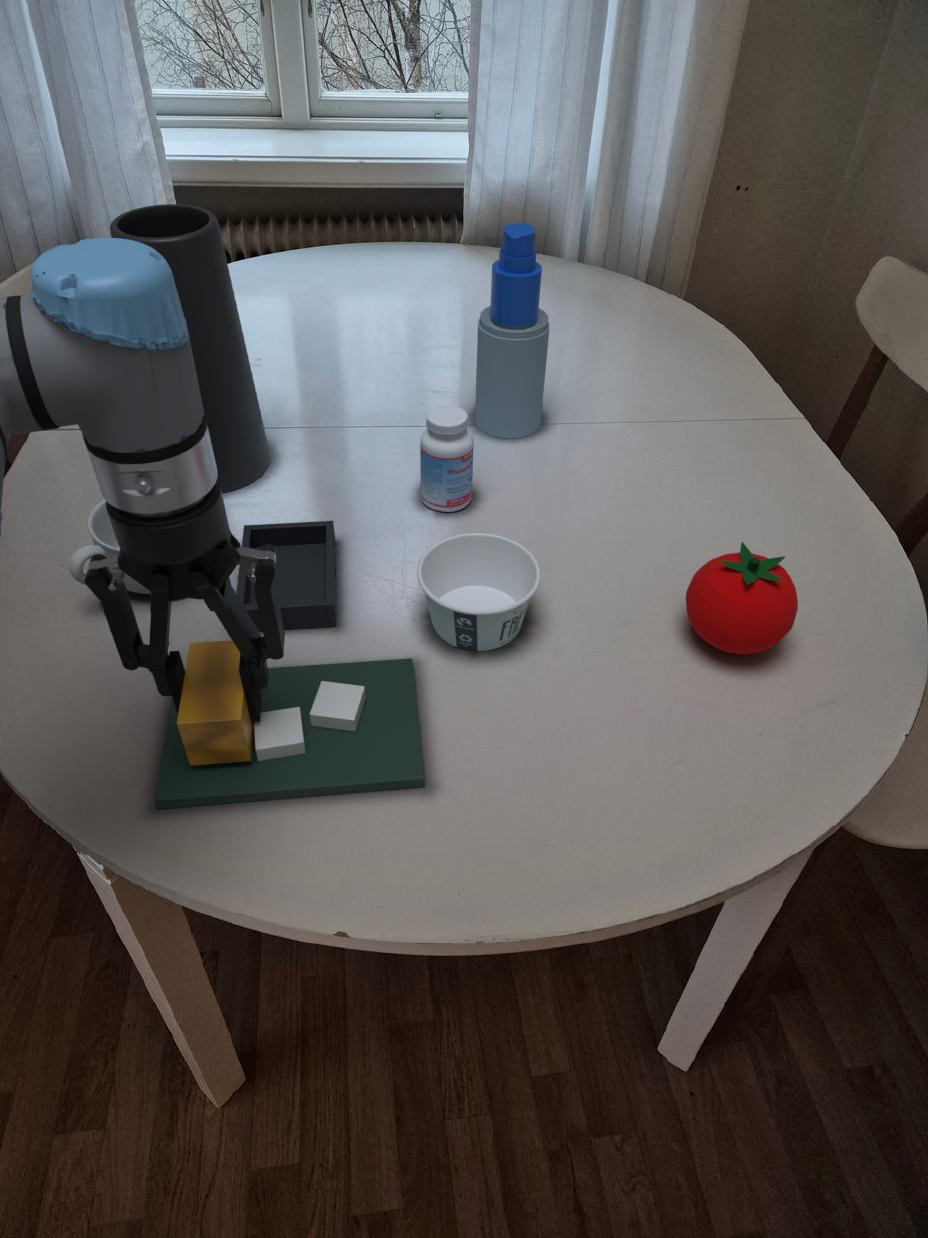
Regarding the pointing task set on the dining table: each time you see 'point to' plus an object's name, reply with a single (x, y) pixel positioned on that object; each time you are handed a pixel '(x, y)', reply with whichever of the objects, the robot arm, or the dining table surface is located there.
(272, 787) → the chalkboard
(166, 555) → the robot arm
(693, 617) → the tomato
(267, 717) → the grey square block
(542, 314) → the spray bottle
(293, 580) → the tray
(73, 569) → the teacup
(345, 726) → the white square block
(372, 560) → the dining table surface
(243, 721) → the yellow rectangular block
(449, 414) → the pill bottle
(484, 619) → the food container
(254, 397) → the vase
